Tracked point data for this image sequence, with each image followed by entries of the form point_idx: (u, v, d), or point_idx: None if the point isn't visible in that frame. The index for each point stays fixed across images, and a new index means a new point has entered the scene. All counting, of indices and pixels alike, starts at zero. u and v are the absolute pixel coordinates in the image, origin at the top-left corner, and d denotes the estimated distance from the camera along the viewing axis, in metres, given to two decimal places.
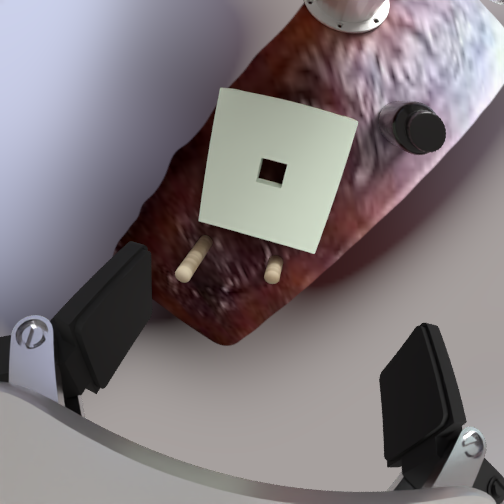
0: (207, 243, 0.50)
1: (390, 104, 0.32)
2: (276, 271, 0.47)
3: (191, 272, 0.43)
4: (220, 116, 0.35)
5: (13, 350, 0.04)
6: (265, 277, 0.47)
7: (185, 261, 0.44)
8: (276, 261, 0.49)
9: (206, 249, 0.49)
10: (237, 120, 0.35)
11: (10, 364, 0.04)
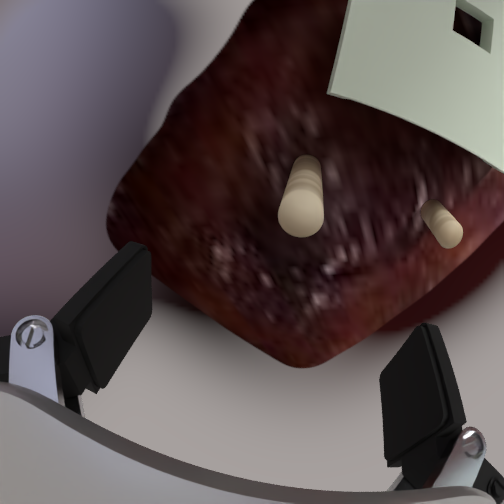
0: (319, 166, 0.23)
1: None
2: None
3: None
4: None
5: (13, 350, 0.04)
6: (440, 234, 0.20)
7: (300, 183, 0.17)
8: (444, 207, 0.22)
9: (321, 176, 0.22)
10: None
11: (10, 364, 0.04)
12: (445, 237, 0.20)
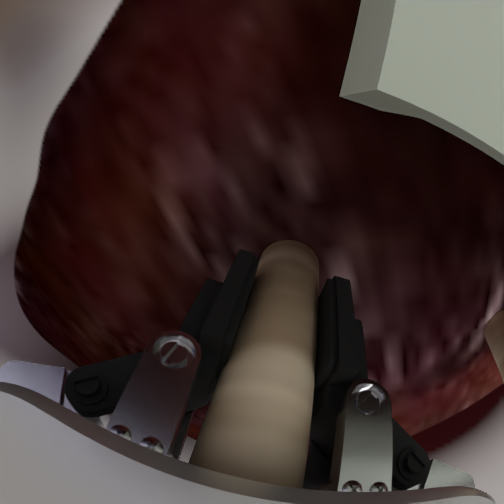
0: (314, 282, 0.10)
1: None
2: None
3: None
4: None
5: (145, 359, 0.05)
6: None
7: None
8: None
9: (317, 319, 0.09)
10: None
11: (135, 372, 0.05)
12: None
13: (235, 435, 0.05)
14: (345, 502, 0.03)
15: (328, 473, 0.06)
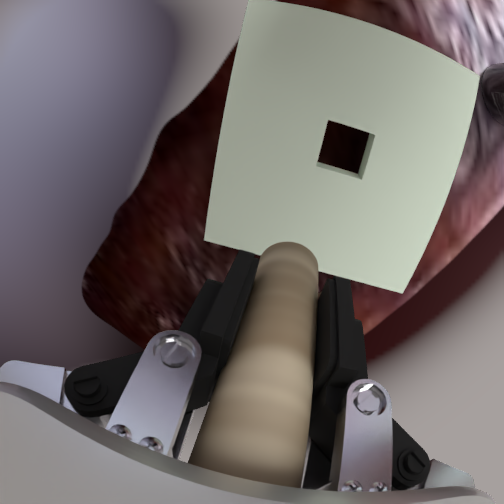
0: (313, 284, 0.10)
1: (500, 64, 0.14)
2: None
3: None
4: (249, 44, 0.16)
5: (145, 359, 0.05)
6: None
7: None
8: None
9: (316, 321, 0.09)
10: (282, 50, 0.16)
11: (135, 372, 0.05)
12: None
13: (233, 437, 0.05)
14: (345, 502, 0.03)
15: (328, 473, 0.06)
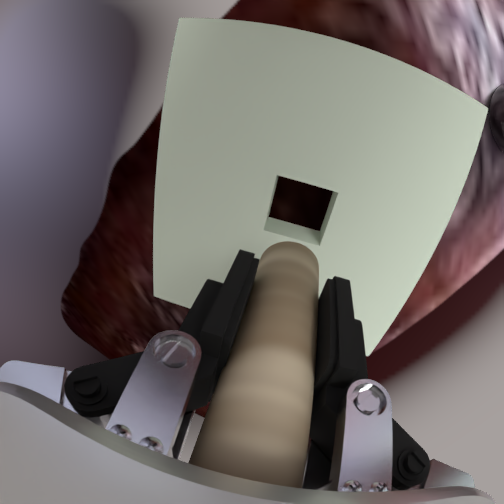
0: (314, 284, 0.10)
1: None
2: None
3: None
4: (179, 80, 0.14)
5: (145, 359, 0.05)
6: None
7: None
8: None
9: (317, 321, 0.09)
10: (218, 86, 0.13)
11: (135, 372, 0.05)
12: None
13: (234, 438, 0.05)
14: (345, 502, 0.03)
15: (328, 473, 0.06)
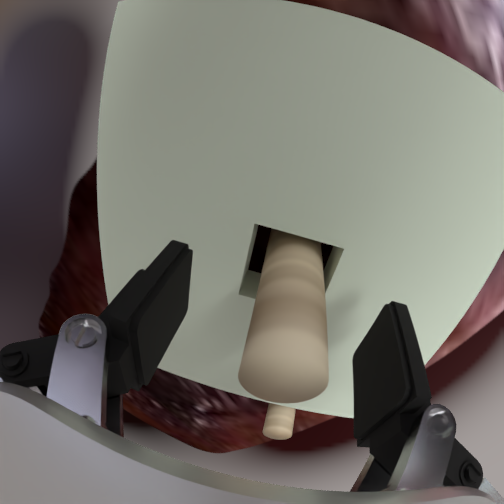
0: None
1: None
2: (287, 427, 0.21)
3: None
4: (116, 87, 0.09)
5: (60, 346, 0.05)
6: (265, 432, 0.21)
7: (284, 299, 0.09)
8: None
9: None
10: (166, 92, 0.09)
11: (54, 360, 0.05)
12: (271, 434, 0.21)
13: (284, 282, 0.09)
14: (345, 502, 0.03)
15: (380, 488, 0.05)
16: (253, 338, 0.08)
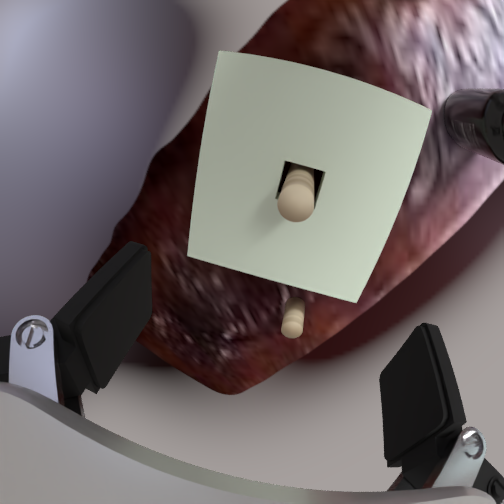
0: None
1: (462, 91, 0.19)
2: (299, 323, 0.33)
3: (313, 199, 0.20)
4: (219, 94, 0.21)
5: (13, 350, 0.04)
6: (282, 329, 0.33)
7: (295, 179, 0.21)
8: (298, 306, 0.35)
9: (313, 175, 0.26)
10: (246, 100, 0.21)
11: (10, 364, 0.04)
12: (287, 331, 0.33)
13: (295, 177, 0.21)
14: (345, 502, 0.03)
15: None
16: (283, 189, 0.20)
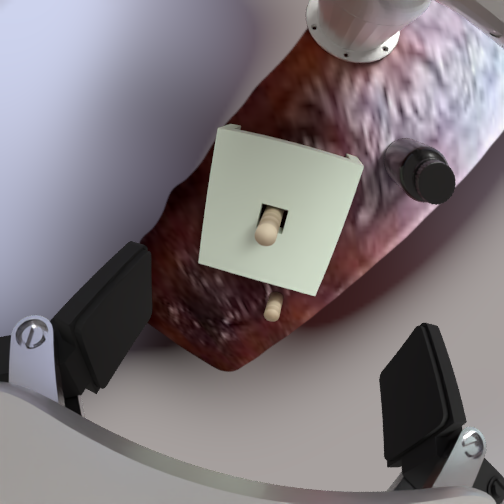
0: None
1: (397, 143, 0.32)
2: (277, 311, 0.46)
3: (277, 232, 0.33)
4: (218, 159, 0.35)
5: (13, 350, 0.04)
6: (265, 314, 0.47)
7: (266, 219, 0.34)
8: (278, 298, 0.49)
9: (283, 210, 0.39)
10: (236, 164, 0.35)
11: (10, 364, 0.04)
12: (268, 316, 0.47)
13: (267, 216, 0.35)
14: (345, 502, 0.03)
15: None
16: (258, 226, 0.33)
